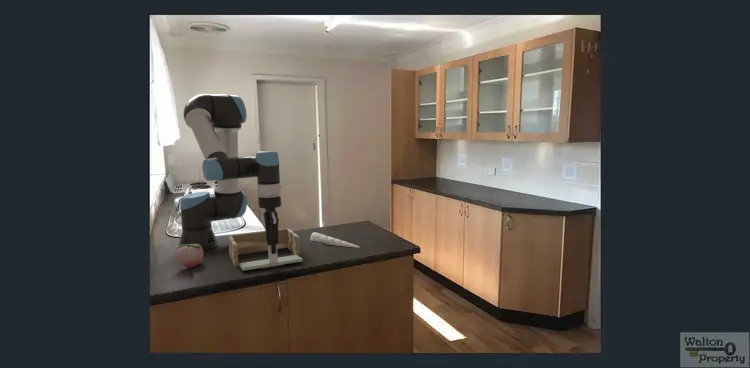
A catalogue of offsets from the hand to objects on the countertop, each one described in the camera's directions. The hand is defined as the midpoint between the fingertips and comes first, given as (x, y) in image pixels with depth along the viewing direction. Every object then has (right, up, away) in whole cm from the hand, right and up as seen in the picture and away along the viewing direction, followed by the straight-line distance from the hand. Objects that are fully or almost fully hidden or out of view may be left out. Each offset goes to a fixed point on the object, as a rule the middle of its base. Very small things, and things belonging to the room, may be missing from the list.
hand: (273, 261), depth 146 cm
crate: (-7, -2, +14) cm, 16 cm away
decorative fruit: (-31, -3, +5) cm, 32 cm away
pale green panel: (-3, -1, +7) cm, 8 cm away
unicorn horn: (+18, +1, +33) cm, 38 cm away
